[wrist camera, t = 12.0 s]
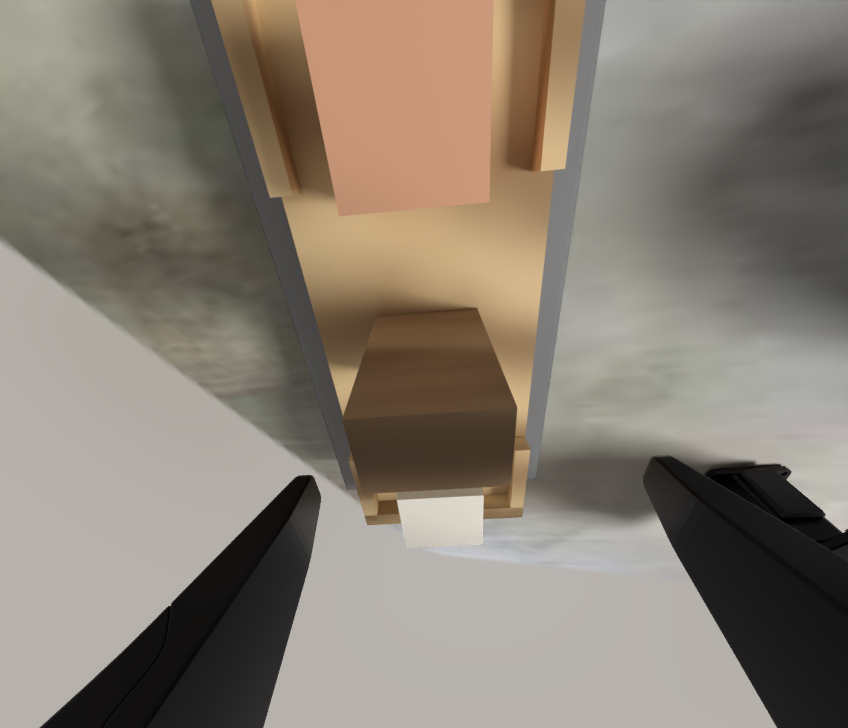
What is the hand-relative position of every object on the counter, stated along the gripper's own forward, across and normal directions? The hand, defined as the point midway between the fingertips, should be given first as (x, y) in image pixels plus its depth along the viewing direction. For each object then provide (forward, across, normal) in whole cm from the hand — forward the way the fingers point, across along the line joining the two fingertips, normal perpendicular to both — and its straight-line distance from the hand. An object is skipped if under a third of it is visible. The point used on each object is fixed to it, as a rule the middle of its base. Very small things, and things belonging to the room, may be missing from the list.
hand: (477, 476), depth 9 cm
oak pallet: (+10, +1, 0) cm, 10 cm away
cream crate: (+8, +1, +8) cm, 11 cm away
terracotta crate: (+8, +1, -8) cm, 11 cm away
